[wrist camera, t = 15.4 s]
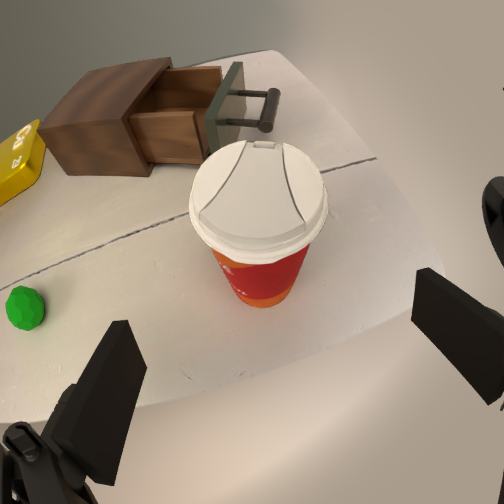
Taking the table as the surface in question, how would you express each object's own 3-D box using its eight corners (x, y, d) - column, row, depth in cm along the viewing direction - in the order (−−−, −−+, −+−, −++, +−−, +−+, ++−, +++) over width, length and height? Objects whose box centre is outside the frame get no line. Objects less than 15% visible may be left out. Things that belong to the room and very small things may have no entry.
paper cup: (229, 238, 29) (203, 130, 16) (306, 247, 28) (331, 139, 16) (214, 314, 26) (164, 242, 13) (299, 325, 25) (332, 261, 12)
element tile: (-1, 164, 40) (-13, 150, 36) (50, 130, 42) (39, 113, 38) (-16, 218, 34) (-31, 204, 30) (40, 181, 36) (24, 162, 31)
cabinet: (184, 110, 39) (170, 56, 31) (148, 177, 34) (120, 118, 25) (108, 115, 41) (88, 71, 32) (67, 175, 35) (35, 130, 27)
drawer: (282, 111, 36) (283, 63, 29) (269, 178, 31) (268, 122, 24) (159, 108, 39) (146, 67, 32) (123, 168, 33) (99, 123, 26)
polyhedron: (57, 316, 26) (30, 303, 22) (33, 343, 25) (6, 333, 20) (42, 286, 28) (17, 270, 23) (20, 311, 26) (-5, 298, 22)
